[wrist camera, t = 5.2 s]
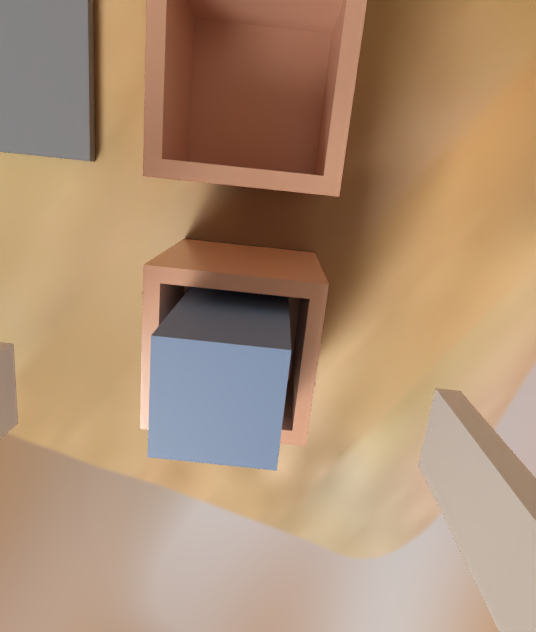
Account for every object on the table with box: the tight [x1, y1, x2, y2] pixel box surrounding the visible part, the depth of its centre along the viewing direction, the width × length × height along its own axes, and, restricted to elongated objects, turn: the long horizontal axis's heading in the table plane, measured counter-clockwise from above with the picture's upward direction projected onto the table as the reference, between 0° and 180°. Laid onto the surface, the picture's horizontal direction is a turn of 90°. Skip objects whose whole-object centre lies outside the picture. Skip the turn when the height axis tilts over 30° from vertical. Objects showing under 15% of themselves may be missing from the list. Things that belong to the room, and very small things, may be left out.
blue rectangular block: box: [148, 287, 291, 471], centre depth 17 cm, size 4×4×8 cm
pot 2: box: [140, 239, 329, 446], centre depth 20 cm, size 6×6×7 cm
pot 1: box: [143, 0, 367, 197], centre depth 17 cm, size 6×6×7 cm
